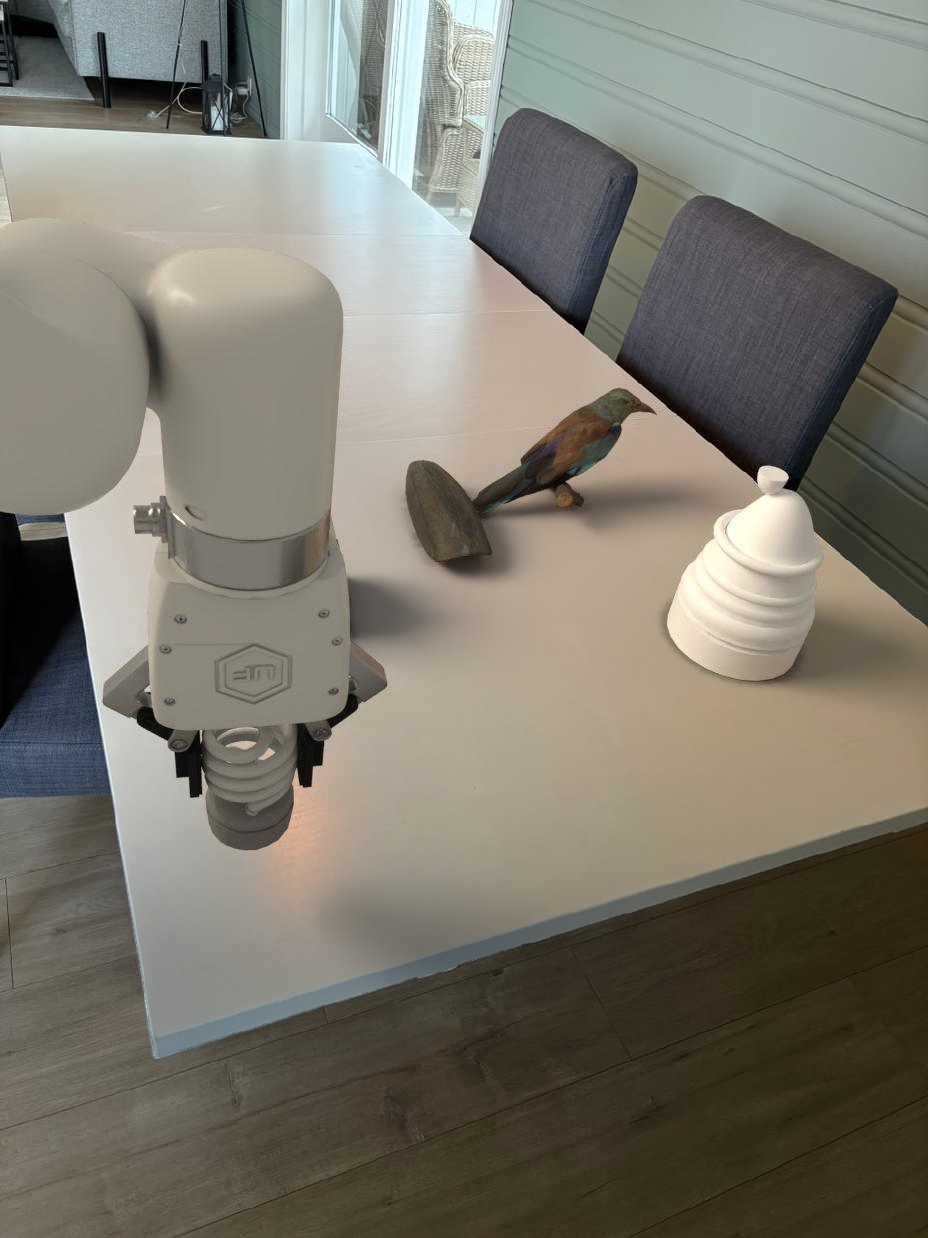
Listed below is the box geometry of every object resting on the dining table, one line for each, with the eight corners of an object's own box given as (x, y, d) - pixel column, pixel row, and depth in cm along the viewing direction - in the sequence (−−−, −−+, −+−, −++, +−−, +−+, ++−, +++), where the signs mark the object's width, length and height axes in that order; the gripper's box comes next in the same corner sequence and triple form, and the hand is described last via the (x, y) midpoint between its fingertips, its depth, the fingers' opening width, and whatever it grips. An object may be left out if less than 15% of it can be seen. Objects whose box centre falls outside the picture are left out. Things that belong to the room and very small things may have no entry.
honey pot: (655, 653, 87) (712, 493, 75) (678, 580, 96) (732, 428, 85) (790, 698, 84) (870, 539, 73) (800, 618, 94) (872, 467, 82)
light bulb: (197, 818, 60) (189, 688, 52) (281, 799, 62) (286, 672, 55) (215, 889, 56) (209, 761, 49) (304, 866, 58) (312, 740, 51)
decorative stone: (495, 572, 93) (501, 539, 91) (435, 578, 91) (440, 545, 89) (444, 482, 105) (448, 451, 103) (390, 486, 103) (393, 454, 101)
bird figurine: (492, 538, 96) (607, 377, 90) (450, 491, 103) (554, 337, 97) (569, 570, 106) (678, 426, 100) (526, 525, 112) (625, 387, 106)
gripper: (46, 581, 38) (93, 841, 50) (441, 570, 43) (401, 810, 55) (61, 484, 44) (100, 739, 55) (411, 484, 49) (380, 718, 60)
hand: (250, 772), depth 55 cm, fingers closed on light bulb, 5 cm apart
